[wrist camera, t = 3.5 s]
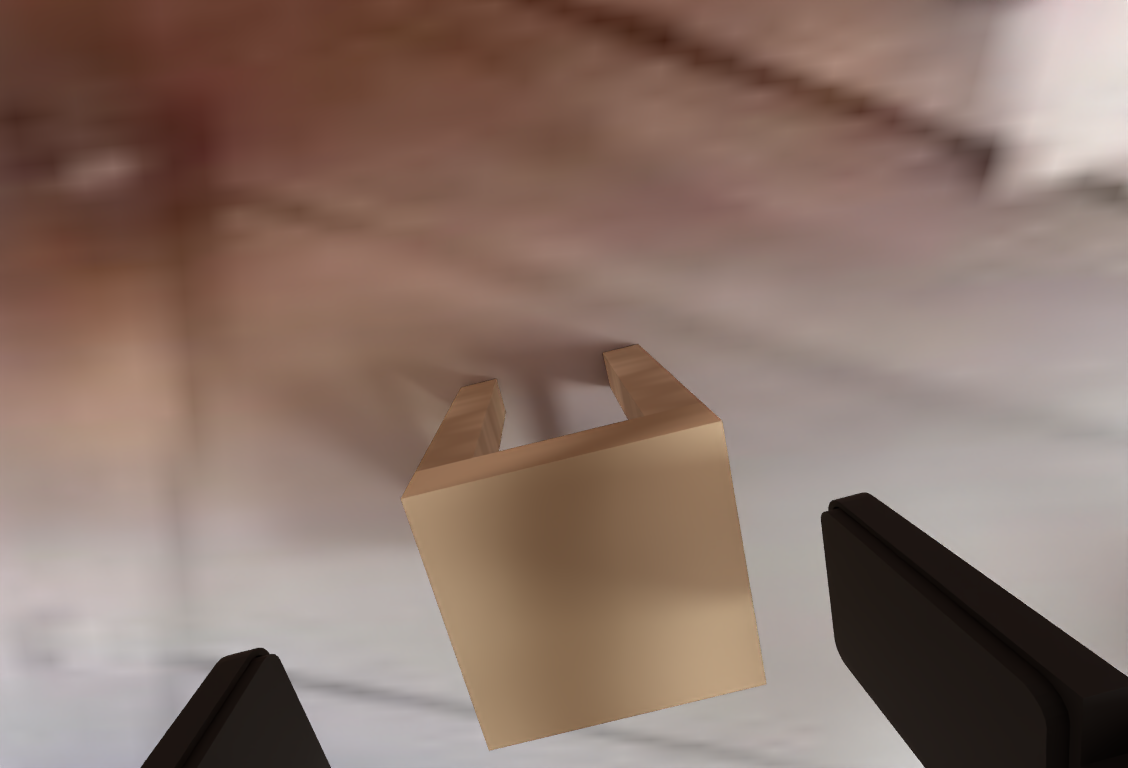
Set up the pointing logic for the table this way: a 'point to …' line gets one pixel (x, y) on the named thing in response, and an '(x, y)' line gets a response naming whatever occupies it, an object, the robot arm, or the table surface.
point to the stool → (587, 559)
